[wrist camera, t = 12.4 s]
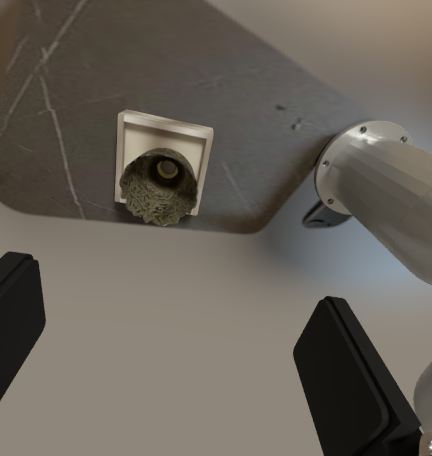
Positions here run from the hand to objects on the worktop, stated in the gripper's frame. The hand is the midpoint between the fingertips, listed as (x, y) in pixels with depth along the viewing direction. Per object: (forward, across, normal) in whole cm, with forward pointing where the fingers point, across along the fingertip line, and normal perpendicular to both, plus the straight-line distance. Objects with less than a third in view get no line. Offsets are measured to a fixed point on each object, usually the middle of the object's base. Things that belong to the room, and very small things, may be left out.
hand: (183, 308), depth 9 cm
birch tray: (+28, +4, +4) cm, 29 cm away
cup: (+26, +3, +4) cm, 26 cm away
